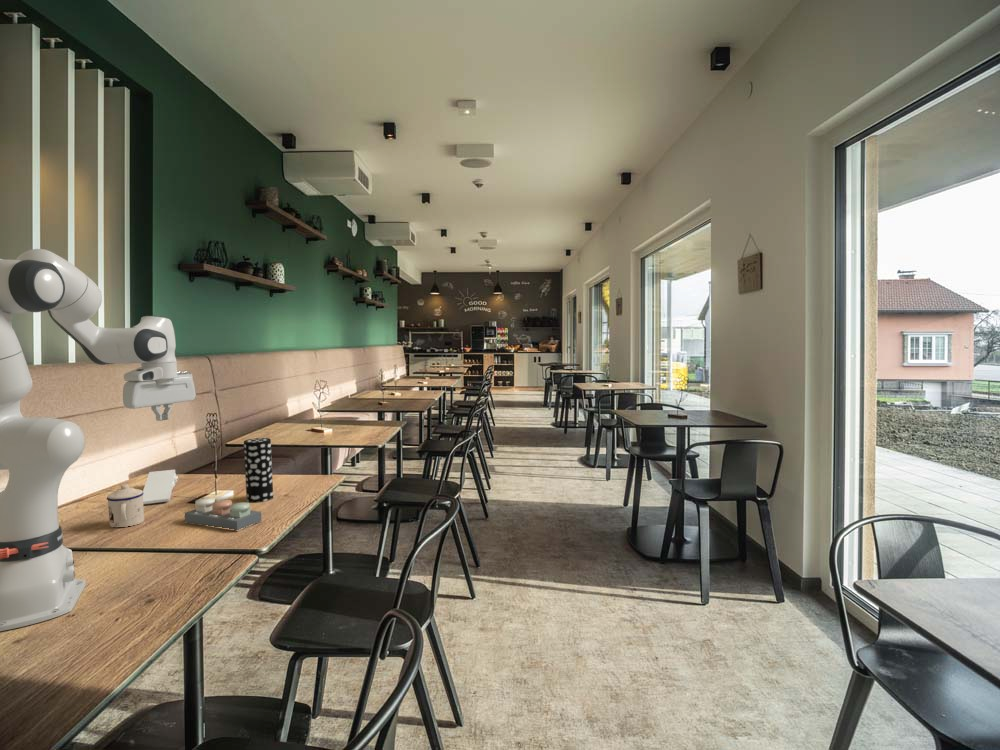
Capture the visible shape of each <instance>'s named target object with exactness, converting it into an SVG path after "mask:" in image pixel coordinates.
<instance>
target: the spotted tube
mask: <svg viewBox="0 0 1000 750" xmlns="http://www.w3.org/2000/svg"><path fill="white" fill-rule="evenodd" d="M243 454H244V456H243V457H244V473H245V475H244V476H245V492H246V493H245V494H246V502H247V503H261V502H262V503H264V502H266V501H270V500H272V499H274V487H273V486H274V484H273V463H272V459H273V458H272V441H271V438H269V437H258V438H248V439H245V440H244V441H243Z"/></svg>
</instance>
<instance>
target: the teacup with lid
mask: <svg viewBox="0 0 1000 750" xmlns="http://www.w3.org/2000/svg"><path fill="white" fill-rule="evenodd" d="M143 494H144V493H143V490H142V489H139V488H134V487H132V486H131V487H130V485H129V484H128V483H127V484H125V483H124V484H121V485H120V488H118V489H117V490H116V491H114V492H111V493H109V494H108V495H107V497H106V500H107V504H108V505H107V507H108V520H109V526H110V527H111V528H113V527H125V528H129V527H128V526H131V527H134V526H133V525H135V526H137V524H138V525H140V524H142V523H143V522H144V521H145V510H144V504H143Z"/></svg>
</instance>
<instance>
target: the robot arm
mask: <svg viewBox="0 0 1000 750" xmlns="http://www.w3.org/2000/svg"><path fill="white" fill-rule="evenodd" d="M102 301H103V294H102V291H101V289H100V288H99V286H98V285H97V284H96V283H95V281H93V279H91V277H89V276H88V275H87V274H86V273H84V272H83V271H82V270H80V268H78V267H77V266H75V265H74V264H73V263H71V262H69V260H67V259H65V258H63V257H62V256H60V255H58V254H56V253H55V252H53V251H51V250H48V249H43V248H34V249H33V248H32V249H28V250H26V251H24V252H22V253H21V254H19V256H17V257H16V258H15V259H3V258H0V470H8V474H9V475H8V480H7V484H6V487H5V488H4V489H3V490H2V491H0V632H2V631H9V630H13V629H14V630H15V629H17V628H23V627H26V626H31V625H34V624H35V625H36V624H37V623H41V622H46V621H48V620H51V619H54V618H57V617H60V616H63V615H65V614H67V613H69V612H71V611H72V610H73V609H74V607H75V605H76V604H77V602H78V601H79V598H80V597H81V596H80V595H82V592H83V590H84V589H85V587H86V585H87V583H86V582H87V581H86V579H84V578H76V571H75V569H74V568H75V567H74V565H75V560H74V559H73V551H72V549H70V548H68V547H66V546H65V545H64V544H63V541H64V540H63V539H64V537H63V536H64V534H63V533H64V532H63V530H62V526H61V525H59V524H60V523H59V509H58V508H59V507H58V506H59V503H58V499H59V498H58V496H59V495H58V494H59V488H60V484H61V481H62V479H63V476H64V475H65V473H66V471H67V470H68V468H70V467H71V466H72V465H73V464H74V463H76V462H77V461H78V460H79V459H80V457H81V456H82V454H83V452H84V449H85V445H86V437H85V434H84V432H83V430H82V428H81V426H79V425H78V424H77V423H75V422H73V421H70V420H65V419H61V418H57V417H49V416H48V417H45V416H44V417H37V416H35V417H32V416H31V417H26V416H24V415H23V414H22V412H21V400H22V399H23V398H25V397H26V396H27V395H28V394H29V393H30V392H31V391H32V389H33V383H34V382H33V379H32V376H31V372H30V370H29V366H28V363H27V360H26V358H25V354H24V352H23V349H22V346H21V344H20V341H19V339H18V337H17V334H16V331H15V329H14V328H13V324H12V323H13V317H14V314H25V313H41V312H46V311H47V313H48V316H49V317H50V318H51V320H52V321H53V322H54V323H55V324H56V325H57V326H58V327H59V328H60V330H62V331H63V332H64V333H66V334H67V335H68V336H69V337H70V338H71V339H73V340H74V342H75V343H77V345H79V346H80V347H81V349H82V350H83V352H84V353H85V355H86V356H87V357H88V359H90V361H91V362H93V363H94V364H96V365H101V366H104V365H115V364H141V366H140V367H137V368H135V369H132V370H130V371H127V372H126V373H124V374H123V380H124V381H125V383H124V385H123V388H122V403H123V406H124V407H125V408H126V409H140V408H147V407H150V409H151V411H152V412H153V414H154V415H155V420H156V422H157V421H158V422H160V421H167V420H170V413H171V412H172V410H173V408H174V406H173V404H176V403H177V404H178V403H183V402H184V403H185V402H191V401H194V400H195V399H196V398H197V397H196V396H197V395H196V387H195V382H194V377H193V374H192V373H191V372H190V371H188V370H178V362H177V358H176V354H175V353H176V352H175V351H176V347H177V345H176V344H177V343H176V342H177V341H176V334H175V328H174V326H173V323H172V322H173V321H172V320H171V319H169V318H168V317H165V316H161V315H145V316H142V317H141V318H140V321H139V323H138V324H136V325H134V326H132V327H119V328H118V327H117V328H116V327H115V328H113V327H101V326H97V325H96V324H95V323H94V322H93V321H92V320H91V318H93V316H95V315H96V313H97V312H98V311H99V309H100V308H101V305H102ZM161 406H162V407H163V408H164V410H163V412H161V408H162V407H161Z"/></svg>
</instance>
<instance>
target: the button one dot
mask: <svg viewBox="0 0 1000 750" xmlns="http://www.w3.org/2000/svg"><path fill="white" fill-rule="evenodd" d="M214 502H216V498H215V497H202V498H199V499H196V500H195V505H194V506H195V509H196V511H197V512H203V513H205V512H208V511H211V510H212V507H213V505H212V504H213V503H214Z"/></svg>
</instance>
